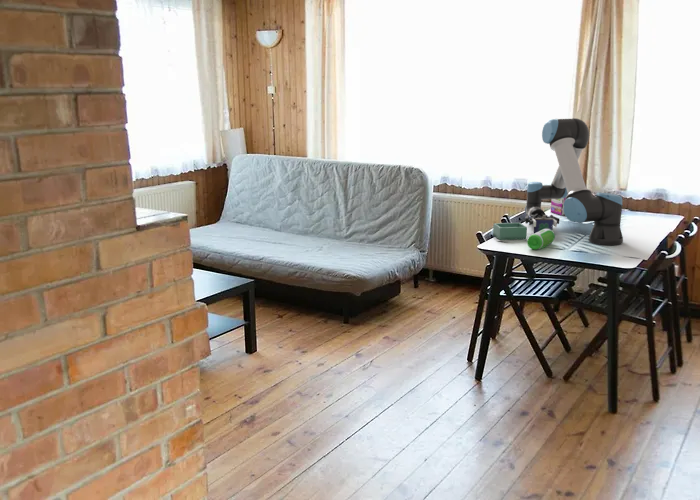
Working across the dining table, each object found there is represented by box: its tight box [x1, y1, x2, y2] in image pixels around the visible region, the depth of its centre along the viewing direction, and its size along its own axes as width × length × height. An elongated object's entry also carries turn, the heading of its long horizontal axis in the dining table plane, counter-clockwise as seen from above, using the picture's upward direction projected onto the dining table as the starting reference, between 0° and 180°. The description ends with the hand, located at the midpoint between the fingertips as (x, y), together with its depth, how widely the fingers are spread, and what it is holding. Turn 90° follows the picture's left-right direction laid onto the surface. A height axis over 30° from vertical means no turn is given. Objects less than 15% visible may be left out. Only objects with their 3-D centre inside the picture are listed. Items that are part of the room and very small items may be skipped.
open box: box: [492, 222, 528, 241], centre depth 323 cm, size 10×13×6 cm
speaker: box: [526, 229, 556, 251], centre depth 304 cm, size 18×7×8 cm, turn 143°
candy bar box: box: [550, 197, 566, 216], centre depth 377 cm, size 11×5×16 cm, turn 17°
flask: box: [533, 214, 554, 234], centre depth 324 cm, size 9×3×11 cm, turn 88°
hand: (545, 224), depth 319 cm, fingers closed on flask, 9 cm apart
